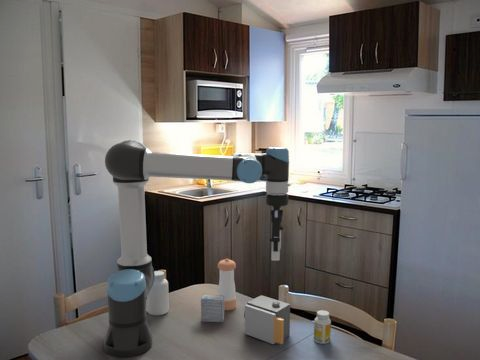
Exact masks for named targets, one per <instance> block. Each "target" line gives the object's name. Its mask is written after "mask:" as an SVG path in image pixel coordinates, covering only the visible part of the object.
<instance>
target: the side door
mask: <svg viewBox="0 0 480 360" xmlns="http://www.w3.org/2000/svg"><path fill="white" fill-rule="evenodd" d="M244 312H245V318H244V334H245V335H246V336H250V337H253V338H255V339H258V340H261V341H263V342H266V343H269V344H270V345H271V344H272V345H274V344H275V343H277V344H280V345H283V344H284V340H285V338H284V319H281V318H278V317H276V314H275V313H272V312H269V311H266V310H263V309H260V308H257V307H254V306H251V305H248V304H247V303H246V304H245V305H244ZM275 345H276V344H275Z"/></svg>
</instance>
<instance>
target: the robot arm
mask: <svg viewBox="0 0 480 360" xmlns="http://www.w3.org/2000/svg"><path fill="white" fill-rule="evenodd" d="M265 151H266V152H265V153H264V152H263V153H249V152H248V153H243V152H240V153H239V152H238V153H232V154H231V155H215V154H214V155H213V154H211V155H210V154H197V153H196V154H195V153H194V154H193V153H179V152H178V153H177V152H157V151H156V152H154V151H151V150H150V149H149V148H147V147H146V146H145V145H144V144H143V143H141V142H139V141H137V140H131V139H129V140H124V141H121V142H120V143H116V144H114V145H112V146H111V147H109V149H108V151H107V152H106V154H105V157H104V164H105V165H104V166H105V168H106V170H107V172H108V173H109V174H110V175H111V176H112V182H113V184H114V185H116V187H117V191H118V193H117V196H118V211H119V212H118V213H119V215H118V216H119V233H120V235H119V237H120V250H121V251H120V254H121V256H120V257H119V258H118V259H117V260H116V265H117V272H116V271H115V272H114V273H112V274H111V275H110V276H109V277H108V279H107V286H106V292H107V304H108V305H107V309H108V312H107V313H108V325H107V328H106V329H107V330H106V333H105V336H104V340H103V349H104V352H105V353H107V354H108V355H110V356H113V357H119V358H127V357H134V356H138V355H141V354H143V353H145V352H147V351H148V350H149V349H151V347H152V346H153V334H152V332H151V330H150V327H149V324H148V321H147V296H148V293H149V291H150V289H151V288H152V286H153V283H154V279H155V273H154V271H155V270H154V267H153V261H152V256H150V255H149V254H148V250H147V249H148V247H147V246H148V244H147V242H148V241H147V224H146V223H147V222H146V219H147V218H146V199H145V198H146V197H145V185H146V184H147V183H148V182H149V178H150V177H151V178H153V177H154V178H167V179H168V178H169V179H170V178H172V179H189V180H190V179H193V180H212V181H215V180H216V181H233V182H243V183H245V184H255V183H256V182H258V181H259V180H260V178H261V177H265V192H266V194H265V204H266V205H267V206H271V207H273V208H271V210H270V216H271V218H270V219H271V221H270V222H271V224H272V225H271V238H269V242H271V255H270V256H271V257H270V258H271V259H270V260H271V261H274V262H275V261H276V262H277V261H280V260H281V259H280V258H281V249H282V231H283V230H284V227H283V226H282V223H283V220H282V219H283V216H284V215H283V214H284V209H282V207H285V206H288V205H289V194H288V192H289V187H291V184H290V183H289V179H290V178H289V176H290V175H289V174H290V173H289V172H290V156H289V155H290V153H289V149H288V148H286V147H284V146H271V147H270V146H269V147H267V148H266V150H265Z"/></svg>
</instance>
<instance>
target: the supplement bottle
mask: <svg viewBox="0 0 480 360" xmlns="http://www.w3.org/2000/svg"><path fill="white" fill-rule="evenodd" d="M313 325H314V327H313V340H314V342H316V343H317V344H321V345H323V344H328V343H330V341H331V328H332V327H331V326H332V320H331V319H330V312H329V311H328V310H322V309H320V310H318V311H316V317H315V318H314V322H313Z"/></svg>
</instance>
